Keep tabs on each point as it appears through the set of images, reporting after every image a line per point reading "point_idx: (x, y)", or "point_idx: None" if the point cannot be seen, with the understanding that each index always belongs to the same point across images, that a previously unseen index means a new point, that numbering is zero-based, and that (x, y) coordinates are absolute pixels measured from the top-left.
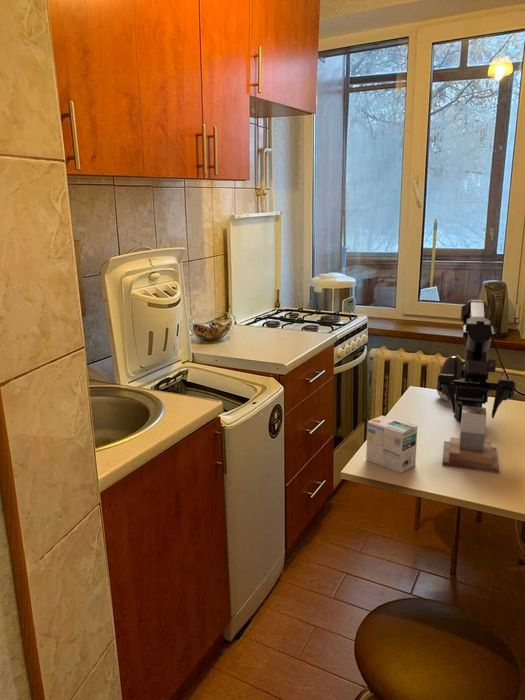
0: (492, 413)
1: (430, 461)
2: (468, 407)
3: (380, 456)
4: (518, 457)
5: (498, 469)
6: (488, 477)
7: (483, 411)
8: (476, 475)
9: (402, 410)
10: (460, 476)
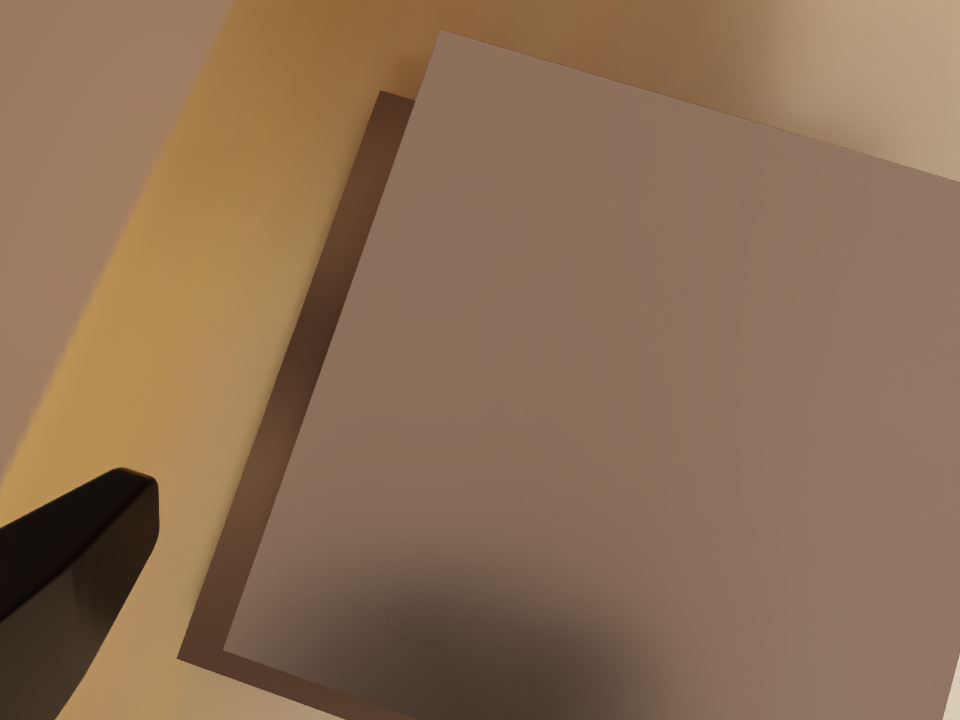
0: (115, 515)
1: None
2: (755, 686)
3: None
4: (13, 480)
5: (387, 93)
6: (526, 18)
7: (414, 320)
8: (632, 56)
9: None
10: (802, 31)
